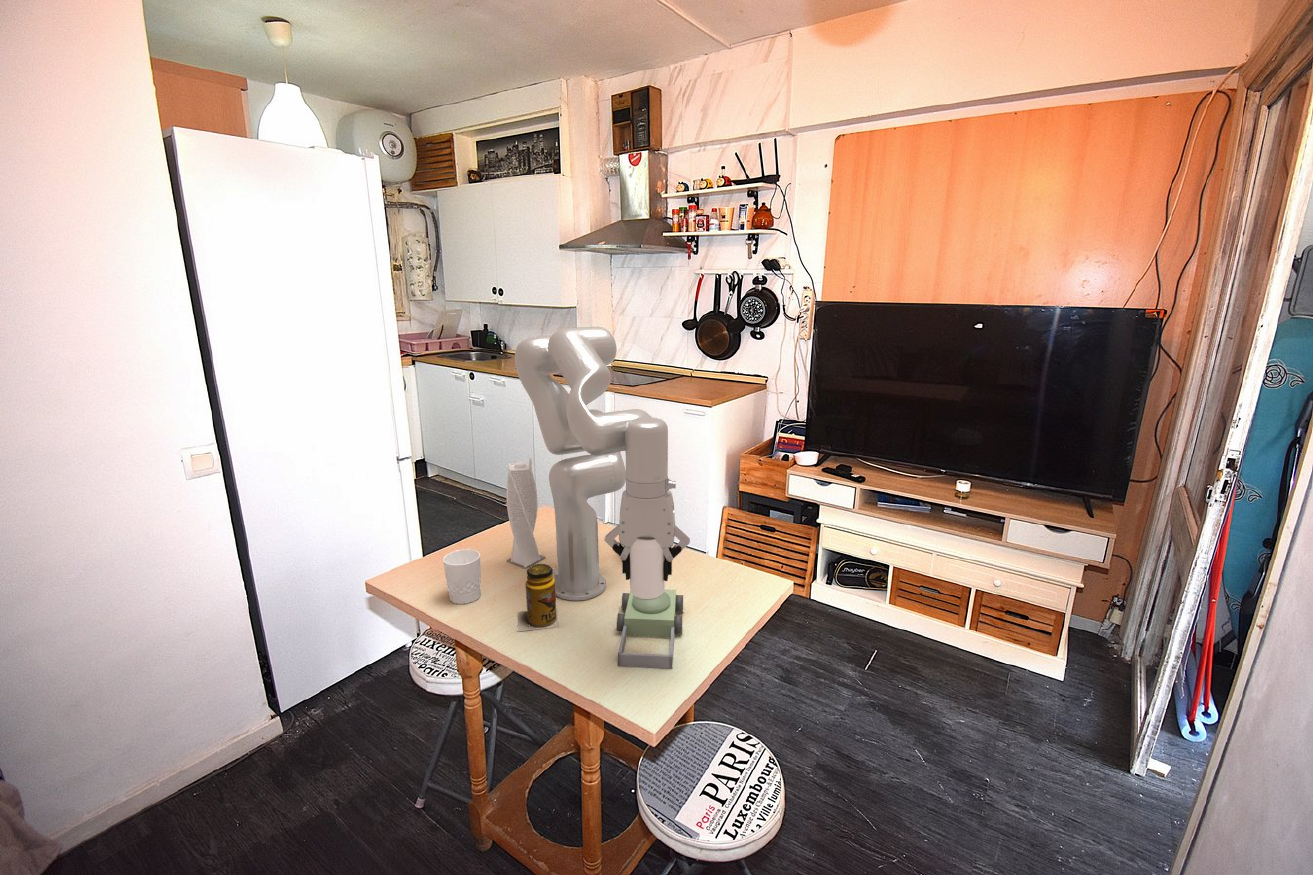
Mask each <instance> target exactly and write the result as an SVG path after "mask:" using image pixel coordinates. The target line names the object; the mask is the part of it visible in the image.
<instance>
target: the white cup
mask: <svg viewBox="0 0 1313 875" xmlns="http://www.w3.org/2000/svg"><path fill="white" fill-rule="evenodd" d="M442 561H443V568H444V574H445V580H446V586H447V590H448V594H449V595H448V596H449V600H451V601H450V602H452V603H453V604H456V603H457V604H456V605H467V604H470V602H471V603H474V602H475V601H477V600H478V599H479V598H480V597H481V596H482V593H481V592H482V590H481V584H482V572H481V569H482V568H481V567H482V566H481V553H480V552H479V551H478V550H475V549H472V548H463V549H462V548H461V549H457V550H453V551H450V552H448V553H447V554H446V555H444V556H443V559H442ZM464 603H465V604H464ZM466 603H467V604H466Z"/></svg>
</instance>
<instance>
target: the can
mask: <svg viewBox="0 0 1313 875" xmlns="http://www.w3.org/2000/svg"><path fill="white" fill-rule="evenodd" d="M636 539H637V540H636V542H634V544H633V545H632V547H630V579H629V585H630V587H629V590H630V591H631V593H632V594H633V596H635V597H636V598H638V599H642V600H652V599H656V598H658V597H660V596H661V595H662V594H663V593H664V589H665V584H666V583H665V582H666V581H665V580H664V560H665V555H664V553H663V548H661V547H660V545H659V544H658V543H657V542H656V540H655V539H656V538H654V539H640V538H636ZM630 591H629V592H630Z"/></svg>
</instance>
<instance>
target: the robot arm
mask: <svg viewBox="0 0 1313 875" xmlns="http://www.w3.org/2000/svg"><path fill="white" fill-rule="evenodd" d="M617 350H618V349H617V343H616V340H615V337H614V336H613V334H612V333H611V332H610V331H609V330H608V329H607V328H605V327H602V326H582V327H579V326H578V327H566V328H562V329H558V330H557V331H555V332H554V333H553V334H552V335H541V336H540V335H538V336H533V337H529V338H526V339H524V340H522V341H520V342H519V343H518V344H517V346H516V347H515V351H514V362H515V369H516V372H517V375H518V378H519V380H520V382H521V385H522V386H523V388H524V390H525V392H526V393H527V395H528V397H529V398H530V401H531V402H532V405H533V408H534V410H535V411H534V413H535V415H536V418H537V422H538V426H539V428H540V432H541V435H542V439H543V441H544V444H545V447H546V449H547V451H548V452H549V453H551V454H552V455H555V456H563V455H571V454H577V453H582V452H585V453H588V454H585V455H583V454H582V455H579V456H573V457H567V458H564V459H561V460H559V461H557V462H555V463H554V464H553V465H552V466H551V468H550V470H549V471H548V472H549V473H548V482H549V486H550V491H551V496H552V501H553V508H554V517H555V518H554V519H555V522H554V523H555V536H556V537H555V538H556V559H557V563H556V564H557V567H554V568H552V569H553V578H554V579H555V594H556V597H558V598H561V599H563V600H566V601H584V600H585V601H586V600H589V599H592V598H595V597H597V596H599V595H601V594H602V593H603V592H604V591H605V589H606V587H607V581H606V578H605V576H603V575H602V574H601V573H600V567H599V566H600V564H599V563H600V561H599V560H600V558H599V557H600V555H599V554H600V553H599V522H598V521H599V520H598V515H597V512H596V510H595V509H594V508H593V506H592V505H590V504H589V502H588V499H590V498H595V497H598V496H602V495H606V494H611V493H615V492H617V491H619V490H621V489H623V487H624V486H625V490H623V491H622V493H621V494H622V495H621V500H620V508H619V520H618V521H619V523H618V524H617V525H616V526H615V527H613V529H611V530H610V531H609V532H608V533H607V534H606V535H605V537H604V540H603V541H604V542H605V543H606V544H607V545H608V546H609V547H610V548H611V549H612V551H613V552H615V553H616V554H617V555H618V556H619V558H620V560H622V562H621V564H622V567H621V568H622V569H621V571H622V574H625V581H630V547H632V545H633V544H634V542H636V540H637V539H636V538H640V539H654V538H656V539H655V540H656V542H657V543H658V544H659V545H660V547H661V548H663V553H664V555H665V560H664V580H665V582H668V579H669V576H672V574H673V573H672V572H673V561H674V559H675V558H676V557H677V556H679V554H681V552H682V551H683V550H684V549H685V548H686V547H687V546H688V545H690V542H691V538H690V537H689V536H688V535H687V534H686V533H685V532H683V530H681V529H680V528H679V527H678V526H677V525H676V519H675V518H676V517H675V515H676V514H675V513H676V512H675V503H674V497H673V492H672V491H671V490H672V489H676V488H677V487H676V484H677V481H676V480H672V479H670V478H669V473H668V472H669V427H668V425H667V422H666V421H664V420H663V419H661V418H658V417H652V415H651V414H649V413H648V412H647V411H645V410H643V409H639V408H638V409H636V408H634V409H633V408H632V409H625V410H615V411H608V412H603V411H601V410H599V409H589V408H588V406H587V405H589V404H590V403H592V402H593V401H595V400H597V399H598V398H600V397H601V396H602V395H603V394H604V393H606V392H607V390H608V389H609V387H610V384H611V381H612V374H611V371H610V369H609V367H608V365H610V364H612V362H614V360H615V359H616V355H617ZM556 373H561V375H562V377H563V379H564V380H565V382H566V383H567V385H568V386H569V388H570V391H569V392H568V391H567V389H566V388H565V387H564V386H563V385H562V384H561V383H560V382H559V381H558V380H557V379H555V378H553V377H552V376H551V374H556ZM621 452H624V453H625V462H624V460H623V456H622V453H621ZM617 537H618V541H617V539H616V538H617ZM675 537H676V539H678V540H679V542H678V543H676V544H675ZM672 546H673V547H672Z"/></svg>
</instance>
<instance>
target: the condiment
mask: <svg viewBox="0 0 1313 875" xmlns="http://www.w3.org/2000/svg"><path fill="white" fill-rule="evenodd" d="M553 569H554V568H553V567H552V566H551V565H549V564H547V563H536V564H534V565H532V566H530V567H528V568H527V570H526V581H525V593H526V594H525V596H526V597H525V598H526V609H527V610H521V611H517V632H526V631H532V630H543V629H552V628H558V627H560V621H559V613H558V607H557V600H556V599H557V598H556V597H557V596H556V594H555V579H554V578H553Z"/></svg>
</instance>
